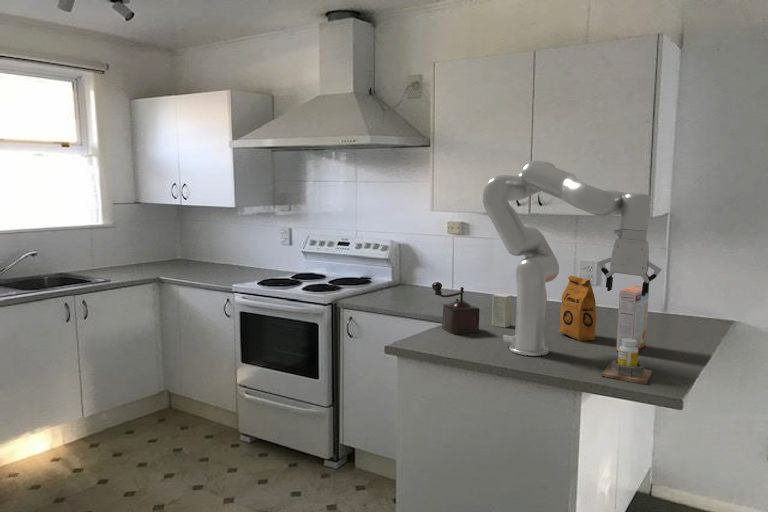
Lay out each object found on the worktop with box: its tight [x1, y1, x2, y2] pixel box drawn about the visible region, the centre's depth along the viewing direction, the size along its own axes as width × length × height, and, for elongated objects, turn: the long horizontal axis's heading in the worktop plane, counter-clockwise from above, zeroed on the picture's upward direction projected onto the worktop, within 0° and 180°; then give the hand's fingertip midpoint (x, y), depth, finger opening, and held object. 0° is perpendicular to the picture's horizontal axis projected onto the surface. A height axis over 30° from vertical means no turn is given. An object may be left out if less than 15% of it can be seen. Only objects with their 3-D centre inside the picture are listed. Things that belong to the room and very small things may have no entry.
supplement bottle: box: [617, 338, 639, 367], centre depth 181 cm, size 5×5×10 cm
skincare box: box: [491, 293, 512, 328], centre depth 238 cm, size 6×4×12 cm
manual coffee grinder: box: [431, 281, 480, 336], centre depth 228 cm, size 16×11×18 cm
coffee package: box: [559, 275, 597, 342], centre depth 223 cm, size 10×12×22 cm
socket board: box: [601, 359, 653, 386], centre depth 181 cm, size 12×12×4 cm
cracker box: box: [615, 285, 650, 352], centre depth 210 cm, size 14×6×21 cm, turn 141°
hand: (626, 292), depth 183 cm, fingers open, 9 cm apart
